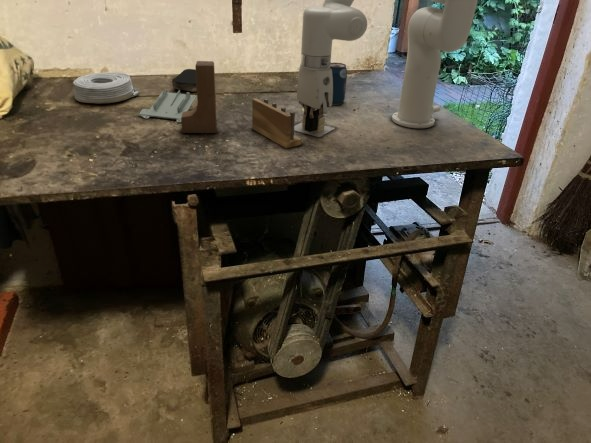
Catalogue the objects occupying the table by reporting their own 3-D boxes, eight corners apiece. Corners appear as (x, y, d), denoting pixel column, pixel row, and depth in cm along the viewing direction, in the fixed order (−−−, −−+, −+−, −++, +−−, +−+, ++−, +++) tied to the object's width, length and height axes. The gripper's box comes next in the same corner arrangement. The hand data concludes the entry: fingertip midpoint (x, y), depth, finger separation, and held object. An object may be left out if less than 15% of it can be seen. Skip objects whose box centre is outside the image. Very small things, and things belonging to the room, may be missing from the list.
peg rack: (267, 125, 136) (267, 96, 132) (301, 144, 126) (303, 113, 121) (252, 128, 134) (252, 98, 129) (286, 148, 123) (287, 116, 119)
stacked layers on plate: (335, 128, 137) (337, 109, 134) (319, 137, 130) (320, 117, 128) (305, 120, 141) (306, 102, 139) (288, 128, 135) (289, 109, 132)
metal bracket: (155, 84, 145) (202, 89, 143) (160, 101, 149) (205, 106, 147) (135, 111, 136) (185, 117, 133) (140, 128, 140) (189, 134, 138)
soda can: (348, 104, 156) (352, 66, 150) (329, 106, 153) (332, 68, 147) (337, 98, 161) (340, 61, 155) (319, 100, 159) (322, 62, 152)
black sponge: (186, 78, 173) (186, 68, 171) (209, 80, 172) (209, 70, 170) (171, 91, 159) (169, 80, 157) (195, 93, 158) (195, 82, 156)
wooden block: (182, 133, 128) (176, 64, 119) (183, 127, 132) (178, 60, 123) (216, 133, 129) (213, 65, 120) (216, 127, 133) (214, 61, 124)
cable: (144, 93, 157) (142, 74, 153) (114, 109, 142) (111, 88, 139) (96, 86, 160) (93, 68, 157) (62, 102, 145) (58, 82, 142)
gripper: (346, 66, 118) (339, 136, 127) (309, 53, 128) (305, 119, 138) (322, 69, 114) (317, 142, 124) (286, 56, 124) (283, 124, 134)
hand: (311, 130), depth 130 cm, fingers closed
